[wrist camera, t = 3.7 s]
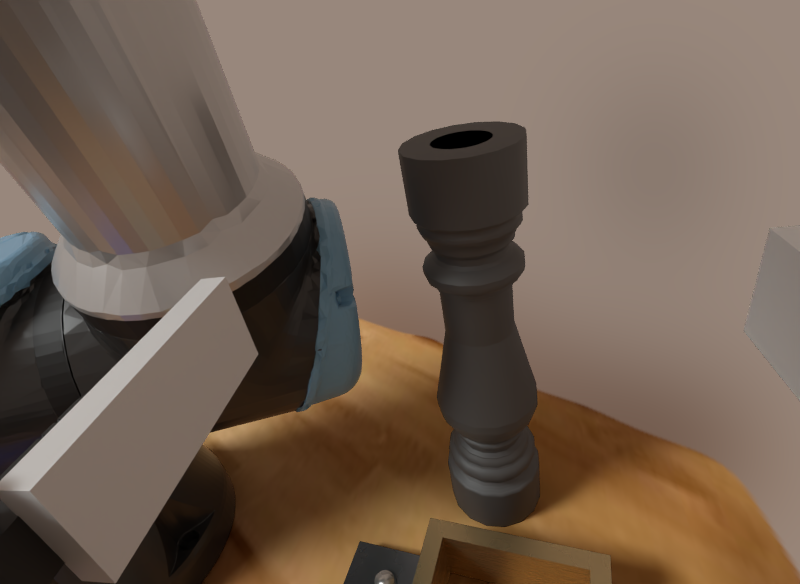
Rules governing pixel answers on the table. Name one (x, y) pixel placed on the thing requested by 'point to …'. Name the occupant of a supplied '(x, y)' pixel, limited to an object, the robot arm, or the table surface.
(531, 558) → the square socket fixture
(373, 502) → the table surface
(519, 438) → the candle holder
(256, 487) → the table surface
